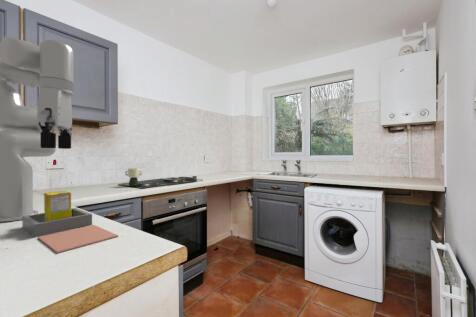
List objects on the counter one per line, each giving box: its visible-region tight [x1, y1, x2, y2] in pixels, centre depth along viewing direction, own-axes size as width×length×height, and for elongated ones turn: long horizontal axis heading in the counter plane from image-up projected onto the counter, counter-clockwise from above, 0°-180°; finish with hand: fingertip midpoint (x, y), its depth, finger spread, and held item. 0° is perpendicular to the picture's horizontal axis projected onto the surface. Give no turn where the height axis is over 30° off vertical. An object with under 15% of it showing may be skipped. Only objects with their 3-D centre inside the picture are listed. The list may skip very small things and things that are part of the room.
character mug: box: [125, 167, 143, 187], centre depth 167 cm, size 11×7×13 cm, turn 107°
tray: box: [21, 207, 93, 238], centre depth 74 cm, size 14×14×4 cm
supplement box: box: [43, 190, 72, 222], centre depth 74 cm, size 6×6×11 cm
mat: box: [37, 224, 119, 254], centre depth 64 cm, size 16×14×1 cm
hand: (57, 148), depth 66 cm, fingers open, 9 cm apart
